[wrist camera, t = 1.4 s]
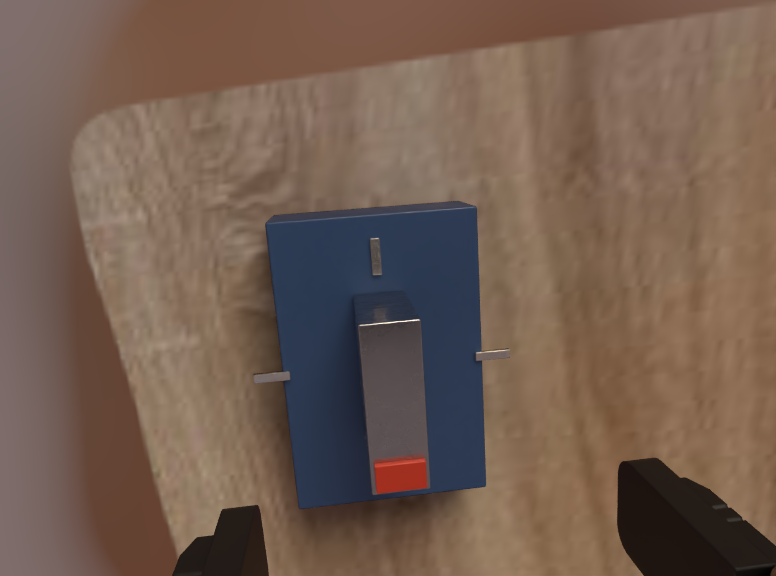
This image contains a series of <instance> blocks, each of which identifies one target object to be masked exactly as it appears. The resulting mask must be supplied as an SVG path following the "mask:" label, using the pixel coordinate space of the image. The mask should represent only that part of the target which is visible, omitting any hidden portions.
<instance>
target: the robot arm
mask: <svg viewBox="0 0 776 576" xmlns="http://www.w3.org/2000/svg"><path fill="white" fill-rule="evenodd" d="M617 526H618V532H619V536H620V540H621V542H622V545H623V547H624V549H625V551H626V553H627V554H628V556H629V557H630V558H631V559H632V561H633V562H634V563H635V565H636V566H637V567H638V569H639V570H640V571H641V573H642V574H643V575H644V576H776V546H775V545H774V544H773V543H772V542H770V541H769V540H768V539H767V538H766V537H765V536H763V535H762V534H761V533H760V532H759V531H758V530H756V529H755V528H754V527H753V526H752V525H751V524H749V523H748V522H747V521H746V520H745V521H743V519H742V517H741V516H740V515H739V514H738V513H737V512H735V511H734V510H733V509H732V508H728V506H727V504H726V503H725V502H724V501H723V500H721V499H720V498H719V497H718V496H717V495H716V494H714V493H713V492H712V491H711V490H710V489H708V488H706V487H704V486H702V485H700V484H698V483H696V482H694V481H692V480H690V479H688V478H680V477H678V476H677V475H676V474H675V473H674V472H673V471H672V470H671V469H670V468H668V467H667V466H666V465H665V464H664V463H663V462H662V461H661V460H659V459H657V458H647V459H639V460H631V461H623V462H621V464H620V465H619V469H618V508H617ZM172 576H269V573H268V564H267V556H266V549H265V542H264V535H263V527H262V520H261V513H260V509H259V506H258V505H253V506H245V507H236V508H228V509H223V510H222V511H221V514H220V517H219V520H218V523H217V526H216V529H215V532H214V535H212V536H204V537H197V538H196V539H195V540H194V541H193V542H192V543H191V544H190V545H189V546H188V547H187V549H186V550H185V551H184V552H183V553H182V554H181V555H180V557H179V559H178V562H177V565H176V567H175V570H174V572H173V575H172Z"/></svg>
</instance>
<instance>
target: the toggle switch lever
mask: <svg viewBox="0 0 776 576" xmlns="http://www.w3.org/2000/svg"><path fill="white" fill-rule="evenodd" d="M353 304H354V316H355V327H356V339H357V351H358V362H359V374H360V386H361V397H362V409H363V421H364V432H365V442H366V449H367V457H368V465H369V473H370V481H371V489H372V494H373V495H380V494H388V493H396V492H405V491H413V490H421V489H429V488H430V487H431V484H430V467H429V449H428V432H427V415H426V398H425V381H424V364H423V347H422V330H421V319H420V318H419V316H418V314H417V312H416V311H415V309H414V307H413V305H412V304H411V302H410V300H409V298H408V297H407V295H406V293H405V291H404V290H400V291H389V292H378V293H367V294H356V295H353Z"/></svg>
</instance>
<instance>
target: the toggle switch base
mask: <svg viewBox="0 0 776 576" xmlns="http://www.w3.org/2000/svg"><path fill="white" fill-rule="evenodd" d="M265 227H266V235H267V244H268V252H269V261H270V269H271V278H272V286H273V294H274V303H275V311H276V320H277V328H278V337H279V345H280V354H281V362H282V371H277V372H267V373H257V374H254V375H253V376H254V383H255V384H256V383H266V382H276V381H284V388H285V396H286V405H287V413H288V421H289V430H290V438H291V447H292V455H293V464H294V472H295V481H296V489H297V498H298V506H299V509H305V508H314V507H322V506H330V505H339V504H347V503H355V502H363V501H372V500H380V499H388V498H397V497H405V496H413V495H422V494H430V493H438V492H446V491H455V490H463V489H471V488H480V487H485V486H486V468H485V439H484V409H483V380H482V360H491V359H501V358H510V349H509V348H506V349H496V350H486V351H481V321H480V292H479V262H478V233H477V208H476V206H473V205H470V204H467V203H463V202H460V201H451V202H438V203H425V204H412V205H400V206H387V207H374V208H361V209H348V210H336V211H323V212H310V213H297V214H284V215H274V216H273V217H272V218H271V219H270V220H268V221H267V222H266V224H265ZM400 290H404V291H405V293H406V295H407V297H408V298H409V300H410V302H411V304H412V305H413V307H414V309H415V311H416V312H417V314H418V316H419V318H420V319H421V330H422V347H423V364H424V381H425V398H426V415H427V432H428V449H429V467H430V484H431V487H430V488H429V489H421V490H413V491H405V492H396V493H388V494H380V495H373V494H372V489H371V481H370V473H369V465H368V457H367V449H366V442H365V432H364V421H363V409H362V397H361V386H360V374H359V362H358V351H357V339H356V327H355V316H354V304H353V295H356V294H367V293H378V292H389V291H400Z"/></svg>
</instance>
